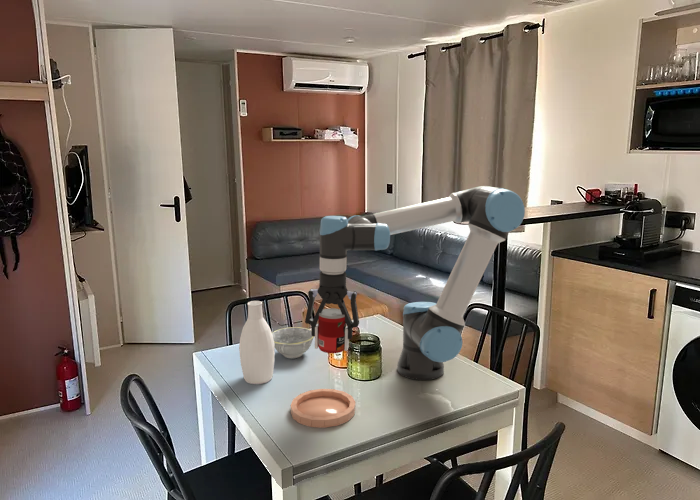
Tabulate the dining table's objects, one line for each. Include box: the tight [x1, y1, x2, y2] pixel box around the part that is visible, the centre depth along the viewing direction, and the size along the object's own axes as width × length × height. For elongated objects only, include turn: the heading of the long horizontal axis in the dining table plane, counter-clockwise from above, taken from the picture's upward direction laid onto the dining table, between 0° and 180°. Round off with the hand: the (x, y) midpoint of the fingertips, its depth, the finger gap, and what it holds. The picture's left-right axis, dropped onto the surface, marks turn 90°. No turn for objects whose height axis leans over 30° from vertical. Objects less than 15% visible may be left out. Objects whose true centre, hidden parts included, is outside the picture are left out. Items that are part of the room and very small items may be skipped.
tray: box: [290, 388, 357, 429], centre depth 151 cm, size 18×18×2 cm
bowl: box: [272, 326, 315, 359], centre depth 190 cm, size 16×16×8 cm
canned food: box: [317, 307, 347, 354], centre depth 154 cm, size 8×8×11 cm
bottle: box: [238, 300, 275, 385], centre depth 170 cm, size 11×11×25 cm
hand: (331, 347), depth 155 cm, fingers closed on canned food, 8 cm apart
